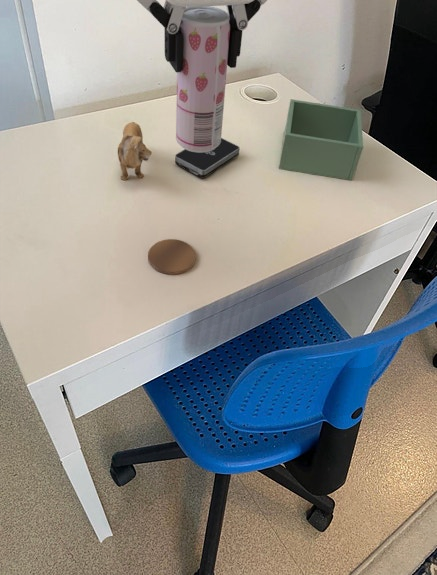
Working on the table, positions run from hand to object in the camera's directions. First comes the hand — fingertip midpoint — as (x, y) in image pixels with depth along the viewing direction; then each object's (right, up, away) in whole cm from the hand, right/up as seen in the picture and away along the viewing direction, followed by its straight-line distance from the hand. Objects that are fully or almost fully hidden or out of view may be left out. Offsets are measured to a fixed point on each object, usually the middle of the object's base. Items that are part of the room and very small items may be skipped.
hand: (202, 63), depth 56 cm
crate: (+21, 0, +40) cm, 45 cm away
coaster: (-5, -21, +18) cm, 28 cm away
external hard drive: (0, -2, +36) cm, 36 cm away
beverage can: (-1, -7, +7) cm, 10 cm away
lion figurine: (-13, -4, +32) cm, 35 cm away
